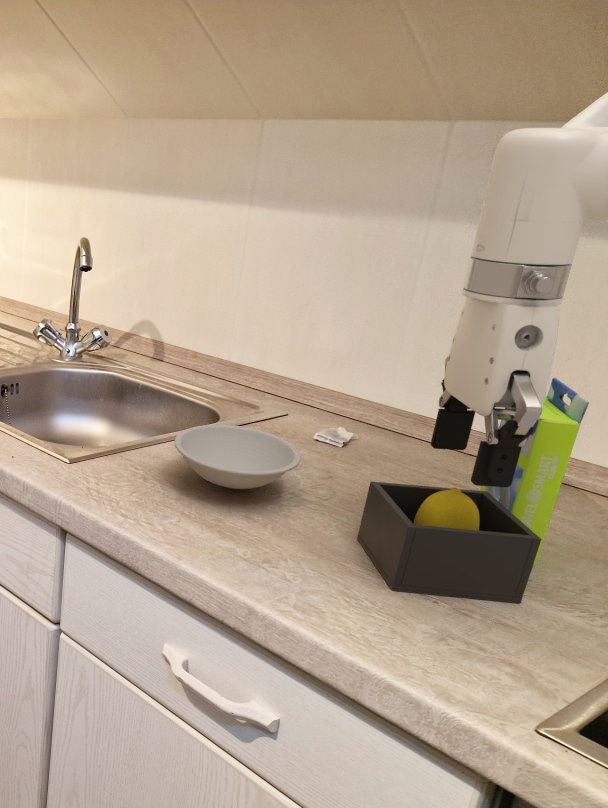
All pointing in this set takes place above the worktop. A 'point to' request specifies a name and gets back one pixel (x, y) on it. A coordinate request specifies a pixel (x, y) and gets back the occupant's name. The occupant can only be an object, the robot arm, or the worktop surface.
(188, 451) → the dish
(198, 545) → the worktop surface
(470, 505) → the lemon
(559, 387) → the box
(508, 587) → the basket
